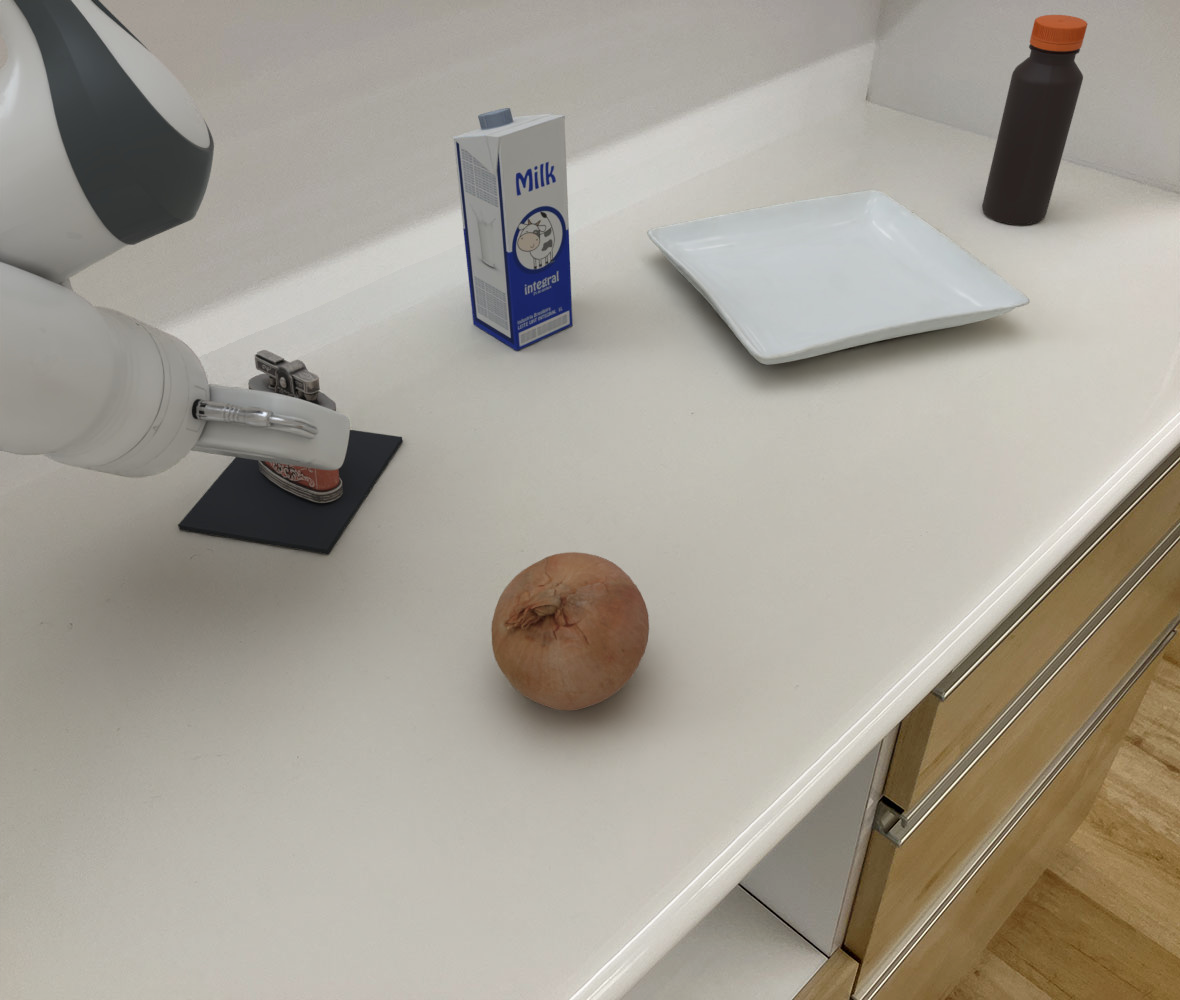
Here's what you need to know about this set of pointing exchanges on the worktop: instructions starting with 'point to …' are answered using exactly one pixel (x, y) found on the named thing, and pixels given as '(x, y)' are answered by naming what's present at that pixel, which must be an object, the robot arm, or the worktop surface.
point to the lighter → (306, 387)
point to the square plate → (832, 274)
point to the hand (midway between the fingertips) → (248, 438)
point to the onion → (570, 630)
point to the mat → (290, 500)
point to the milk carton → (516, 225)
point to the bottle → (1036, 123)
